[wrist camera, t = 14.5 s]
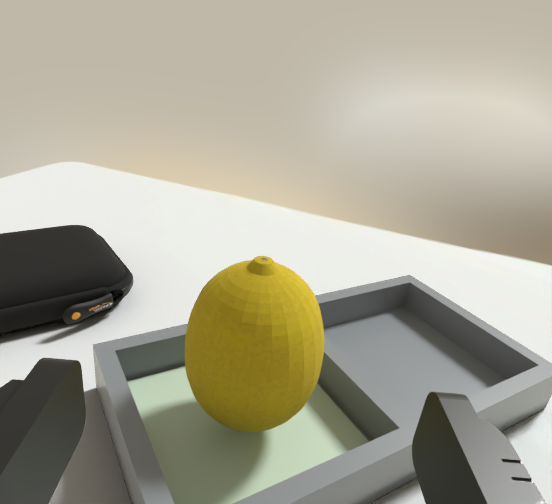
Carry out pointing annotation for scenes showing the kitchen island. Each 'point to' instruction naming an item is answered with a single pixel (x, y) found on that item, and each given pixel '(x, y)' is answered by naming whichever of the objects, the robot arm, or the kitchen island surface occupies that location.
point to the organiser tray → (316, 403)
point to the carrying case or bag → (57, 276)
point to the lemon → (254, 345)
